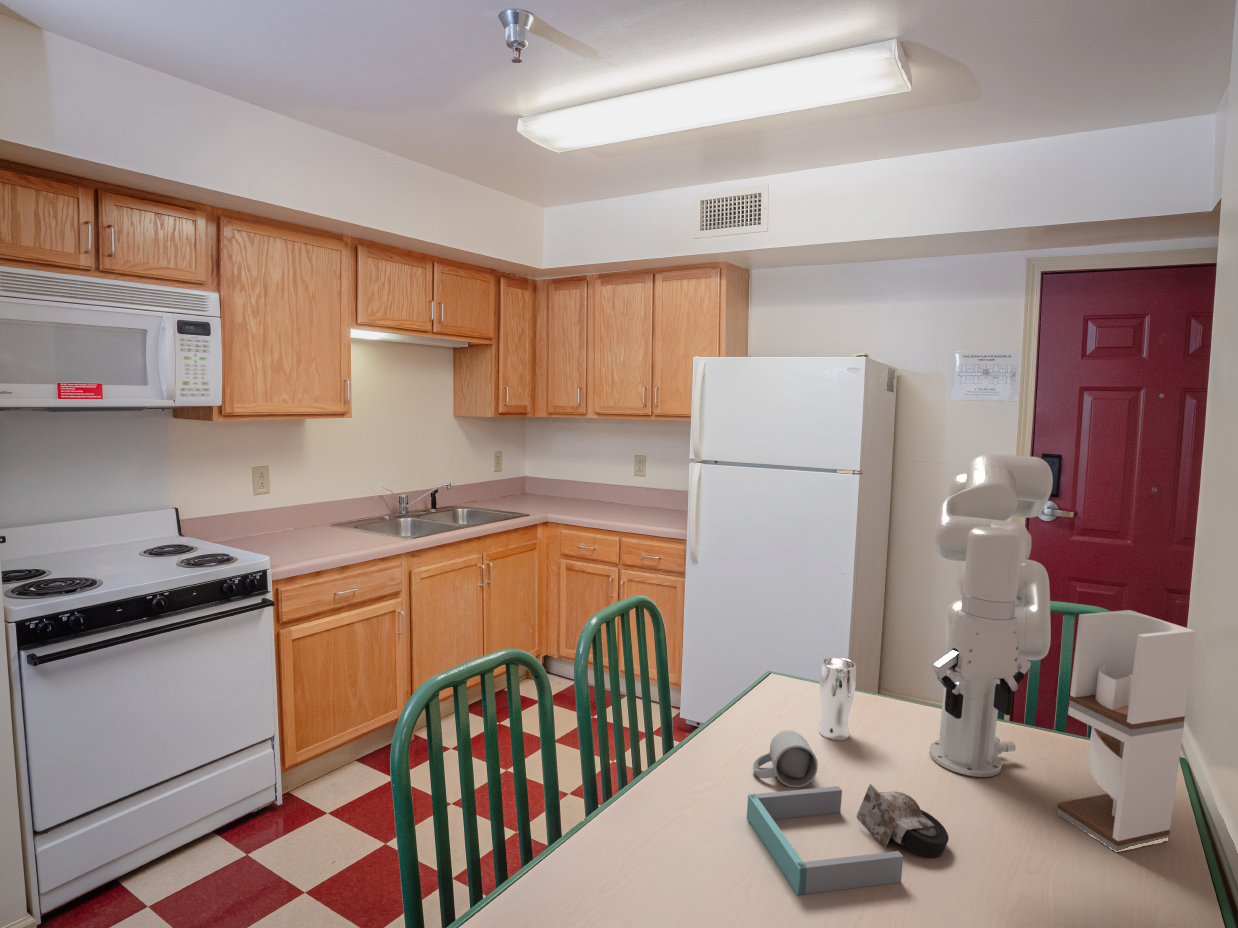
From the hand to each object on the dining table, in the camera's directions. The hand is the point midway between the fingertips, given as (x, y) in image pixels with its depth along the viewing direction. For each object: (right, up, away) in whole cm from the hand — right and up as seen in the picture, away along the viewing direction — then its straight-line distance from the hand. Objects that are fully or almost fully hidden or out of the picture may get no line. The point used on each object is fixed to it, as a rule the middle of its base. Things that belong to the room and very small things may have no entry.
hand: (977, 712), depth 116 cm
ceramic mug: (-27, -18, +17) cm, 36 cm away
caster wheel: (-12, -20, 0) cm, 23 cm away
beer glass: (-13, -16, +34) cm, 40 cm away
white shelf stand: (+24, -21, +5) cm, 32 cm away
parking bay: (-26, -20, -3) cm, 33 cm away
